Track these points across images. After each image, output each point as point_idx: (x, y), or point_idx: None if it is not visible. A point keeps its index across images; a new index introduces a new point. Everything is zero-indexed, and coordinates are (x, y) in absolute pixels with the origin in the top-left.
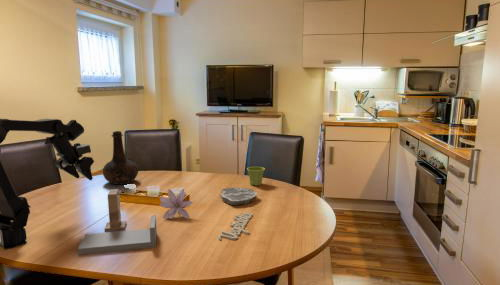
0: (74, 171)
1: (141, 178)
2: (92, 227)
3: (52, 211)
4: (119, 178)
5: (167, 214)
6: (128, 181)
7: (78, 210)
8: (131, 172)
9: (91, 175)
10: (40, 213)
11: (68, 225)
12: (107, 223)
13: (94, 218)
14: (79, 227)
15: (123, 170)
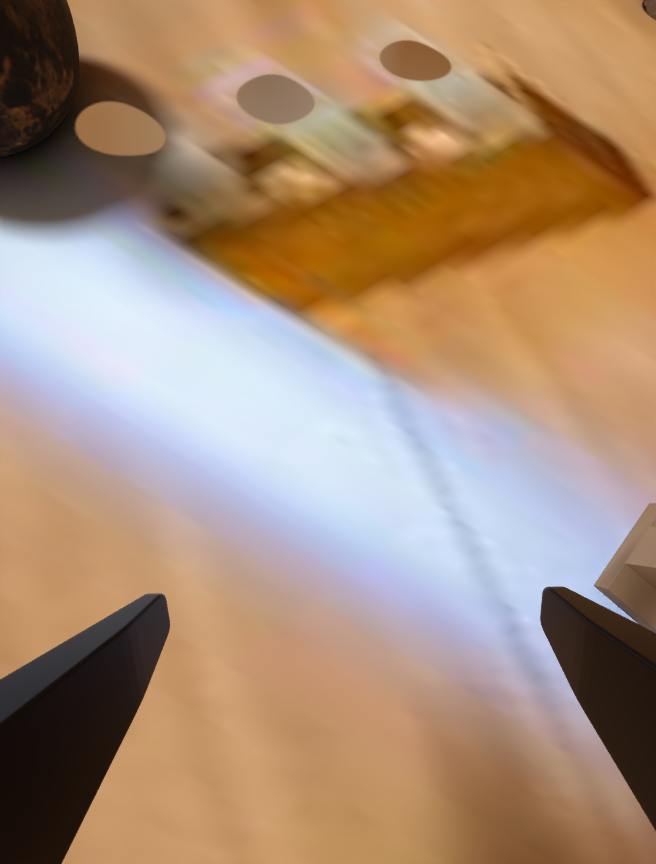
0: (51, 752)
1: None
2: None
3: None
4: (30, 106)
5: None
6: (73, 97)
7: (219, 551)
8: (55, 6)
9: (647, 640)
10: None
11: (413, 746)
12: (627, 599)
13: (432, 569)
14: (500, 717)
15: (3, 10)
